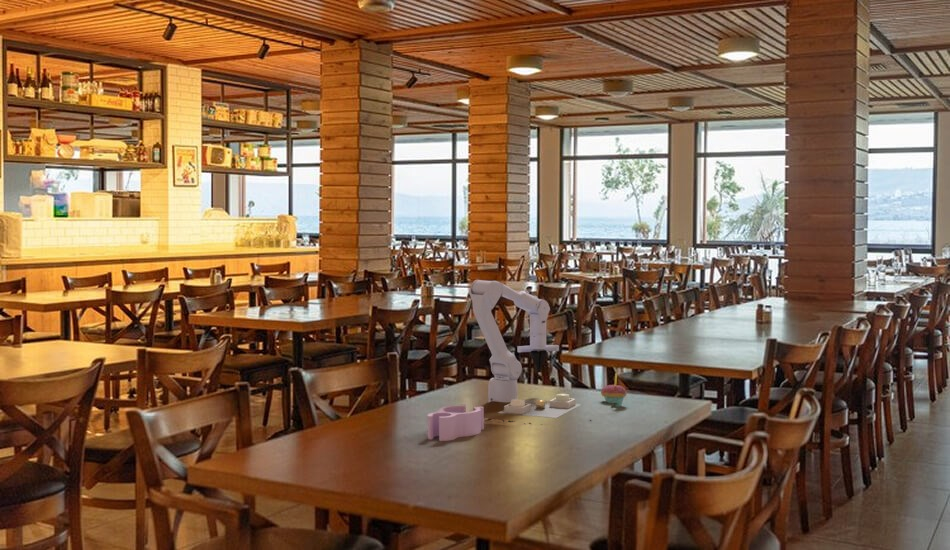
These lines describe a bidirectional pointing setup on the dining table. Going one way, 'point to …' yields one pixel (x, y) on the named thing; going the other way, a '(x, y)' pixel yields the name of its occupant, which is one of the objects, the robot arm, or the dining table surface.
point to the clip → (455, 422)
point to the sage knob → (562, 397)
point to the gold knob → (540, 404)
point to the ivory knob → (518, 402)
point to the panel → (551, 409)
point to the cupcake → (614, 393)
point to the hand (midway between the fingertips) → (538, 372)
